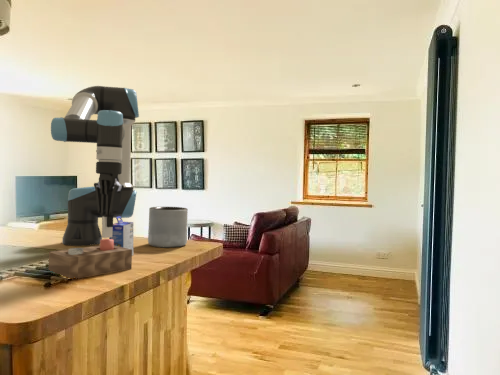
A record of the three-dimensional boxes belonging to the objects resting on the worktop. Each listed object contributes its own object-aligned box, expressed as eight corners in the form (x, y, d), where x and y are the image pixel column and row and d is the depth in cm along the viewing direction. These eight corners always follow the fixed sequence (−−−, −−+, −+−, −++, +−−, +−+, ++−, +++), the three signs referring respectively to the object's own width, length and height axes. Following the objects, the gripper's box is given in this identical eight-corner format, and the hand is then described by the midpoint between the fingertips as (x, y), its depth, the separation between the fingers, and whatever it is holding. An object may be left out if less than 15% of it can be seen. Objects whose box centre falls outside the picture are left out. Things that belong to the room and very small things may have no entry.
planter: (140, 243, 172) (142, 207, 171) (173, 240, 182) (174, 206, 182) (160, 249, 160) (161, 210, 159) (194, 246, 171) (195, 209, 170)
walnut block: (69, 280, 111) (69, 258, 111) (48, 272, 119) (48, 251, 118) (131, 268, 127) (132, 249, 127) (109, 262, 134) (110, 244, 134)
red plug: (97, 257, 126) (97, 239, 126) (108, 255, 129) (109, 238, 129) (104, 259, 124) (104, 241, 124) (115, 257, 127) (116, 240, 127)
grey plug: (65, 267, 118) (65, 249, 118) (78, 265, 122) (79, 247, 121) (72, 270, 116) (72, 251, 116) (85, 268, 119) (86, 249, 119)
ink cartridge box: (118, 254, 147) (120, 214, 147) (133, 255, 147) (135, 215, 147) (107, 260, 137) (108, 217, 137) (123, 261, 137) (124, 218, 137)
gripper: (86, 160, 127) (84, 235, 128) (110, 161, 119) (108, 241, 120) (108, 161, 133) (106, 233, 134) (132, 162, 125) (129, 238, 125)
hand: (107, 237), depth 127 cm, fingers closed
